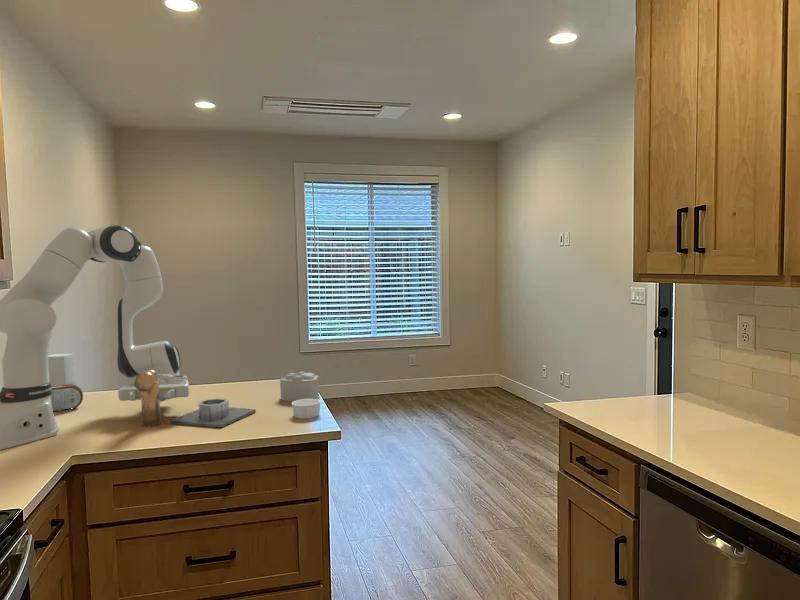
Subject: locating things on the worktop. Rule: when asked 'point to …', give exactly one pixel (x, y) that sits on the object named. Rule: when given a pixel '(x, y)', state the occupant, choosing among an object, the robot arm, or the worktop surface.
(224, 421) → the duct collar
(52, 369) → the skincare box
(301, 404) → the ramekin
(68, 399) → the tin
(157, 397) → the wooden knob peg
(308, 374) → the lumpy-topped squat cylinder
